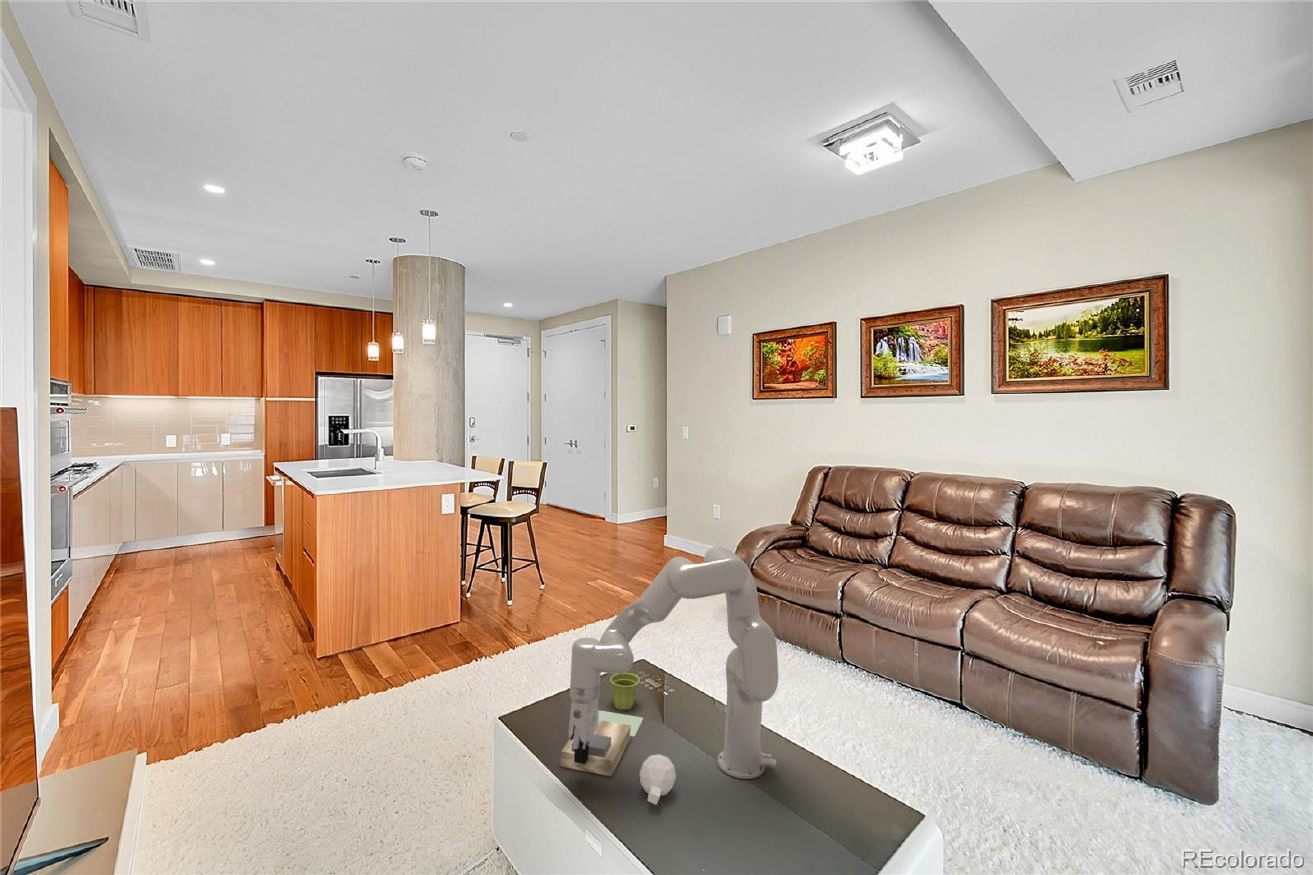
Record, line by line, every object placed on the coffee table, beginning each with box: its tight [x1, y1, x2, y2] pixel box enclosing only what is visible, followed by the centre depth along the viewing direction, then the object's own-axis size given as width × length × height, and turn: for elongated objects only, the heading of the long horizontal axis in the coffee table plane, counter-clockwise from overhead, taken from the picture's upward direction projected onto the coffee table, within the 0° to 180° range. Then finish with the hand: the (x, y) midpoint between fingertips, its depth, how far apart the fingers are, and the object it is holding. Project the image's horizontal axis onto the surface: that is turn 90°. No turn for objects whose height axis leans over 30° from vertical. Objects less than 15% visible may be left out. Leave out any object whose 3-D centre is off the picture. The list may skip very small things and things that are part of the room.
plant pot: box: [610, 672, 641, 711], centre depth 181 cm, size 9×9×9 cm
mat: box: [599, 709, 644, 738], centre depth 170 cm, size 16×11×1 cm
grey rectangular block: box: [572, 734, 611, 757], centre depth 149 cm, size 9×6×2 cm, turn 77°
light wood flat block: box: [560, 720, 631, 777], centre depth 154 cm, size 14×18×4 cm
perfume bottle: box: [639, 753, 677, 805], centre depth 137 cm, size 9×9×12 cm
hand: (581, 761), depth 142 cm, fingers closed
